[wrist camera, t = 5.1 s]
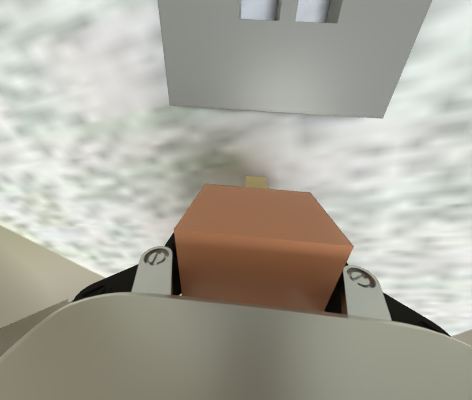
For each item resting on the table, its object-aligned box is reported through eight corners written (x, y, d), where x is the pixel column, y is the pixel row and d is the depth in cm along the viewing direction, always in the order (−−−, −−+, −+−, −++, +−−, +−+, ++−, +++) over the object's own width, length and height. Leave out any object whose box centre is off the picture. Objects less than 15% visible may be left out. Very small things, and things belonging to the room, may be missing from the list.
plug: (283, 245, 14) (309, 343, 8) (213, 238, 15) (186, 328, 8) (298, 178, 12) (353, 246, 6) (213, 171, 12) (173, 229, 6)
